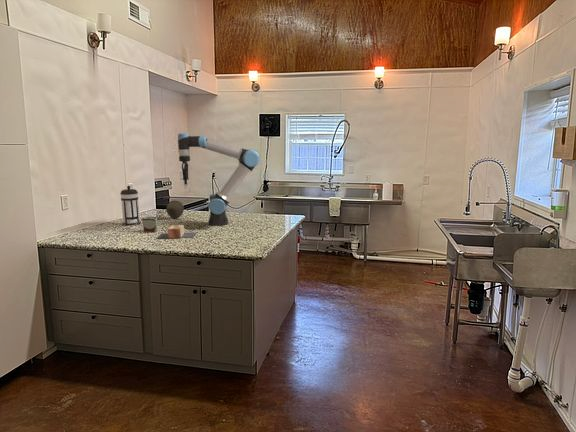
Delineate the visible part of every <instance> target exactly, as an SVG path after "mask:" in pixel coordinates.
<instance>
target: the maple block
mask: <svg viewBox="0 0 576 432" xmlns="http://www.w3.org/2000/svg"><path fill="white" fill-rule="evenodd" d="M167 233H168V238H167V239H182V238H181V237H182V236H183V234H184V233H185V226H184V225H183V224H174V225H171V226H170V227H169V228H167Z"/></svg>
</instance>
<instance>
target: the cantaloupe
mask: <svg viewBox="0 0 576 432" xmlns="http://www.w3.org/2000/svg"><path fill="white" fill-rule="evenodd" d="M184 209H185V208H184V204H183V203H182V202H181V201H179V200H171V201H169V202H168V203H167V205H166V210H165V211H166V213H167V215H168V216H169V217H170V218H172V219H178V218H180V217H182V215H183V214H184V211H185V210H184Z"/></svg>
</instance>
